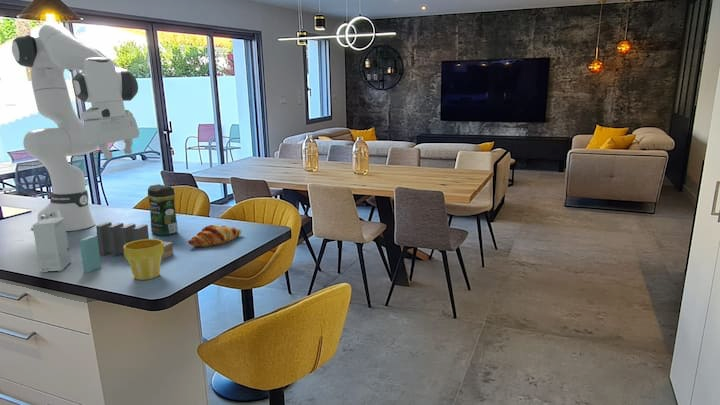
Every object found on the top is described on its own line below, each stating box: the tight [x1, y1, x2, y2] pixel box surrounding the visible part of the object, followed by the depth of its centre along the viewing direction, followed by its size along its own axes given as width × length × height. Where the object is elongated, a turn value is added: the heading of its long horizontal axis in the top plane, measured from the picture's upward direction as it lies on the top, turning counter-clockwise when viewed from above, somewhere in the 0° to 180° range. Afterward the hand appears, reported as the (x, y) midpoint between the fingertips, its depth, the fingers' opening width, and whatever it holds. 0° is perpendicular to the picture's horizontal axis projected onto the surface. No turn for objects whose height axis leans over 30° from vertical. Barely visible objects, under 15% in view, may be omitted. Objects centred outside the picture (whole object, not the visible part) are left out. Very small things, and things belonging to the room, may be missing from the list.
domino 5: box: [133, 224, 150, 241], centre depth 152 cm, size 2×5×10 cm, turn 168°
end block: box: [161, 241, 174, 261], centre depth 151 cm, size 4×8×4 cm, turn 168°
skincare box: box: [32, 217, 72, 273], centre depth 141 cm, size 8×6×15 cm
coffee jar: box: [147, 184, 179, 237], centre depth 176 cm, size 10×8×19 cm
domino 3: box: [108, 222, 125, 258], centre depth 153 cm, size 2×5×10 cm, turn 168°
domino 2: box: [95, 221, 113, 257], centre depth 154 cm, size 2×5×10 cm, turn 168°
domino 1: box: [79, 234, 102, 273], centre depth 140 cm, size 2×5×10 cm, turn 168°
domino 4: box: [121, 223, 137, 259], centre depth 152 cm, size 2×5×10 cm, turn 168°
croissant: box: [187, 224, 243, 248], centre depth 167 cm, size 21×10×8 cm, turn 141°
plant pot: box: [123, 238, 164, 281], centre depth 135 cm, size 10×10×10 cm
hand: (119, 155), depth 148 cm, fingers open, 8 cm apart
